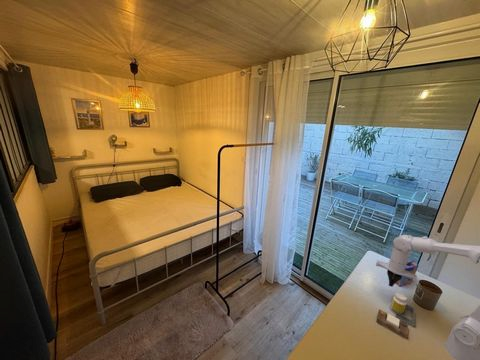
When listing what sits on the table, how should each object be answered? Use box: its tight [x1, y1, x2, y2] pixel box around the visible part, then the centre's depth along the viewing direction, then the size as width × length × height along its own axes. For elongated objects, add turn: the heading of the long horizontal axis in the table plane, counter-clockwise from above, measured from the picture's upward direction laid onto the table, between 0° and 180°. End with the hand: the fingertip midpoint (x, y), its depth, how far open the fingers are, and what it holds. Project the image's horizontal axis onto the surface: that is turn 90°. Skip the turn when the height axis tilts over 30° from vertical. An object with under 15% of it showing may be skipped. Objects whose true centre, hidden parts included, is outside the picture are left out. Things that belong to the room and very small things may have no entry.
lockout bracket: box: [394, 303, 416, 328], centre depth 87 cm, size 6×9×2 cm, turn 139°
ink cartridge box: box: [394, 258, 419, 288], centre depth 104 cm, size 10×6×14 cm, turn 109°
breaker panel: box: [376, 308, 409, 340], centre depth 82 cm, size 10×6×3 cm, turn 49°
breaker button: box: [385, 313, 399, 328], centre depth 82 cm, size 4×4×2 cm
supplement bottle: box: [389, 292, 408, 316], centre depth 88 cm, size 5×5×8 cm
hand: (390, 285), depth 91 cm, fingers closed
